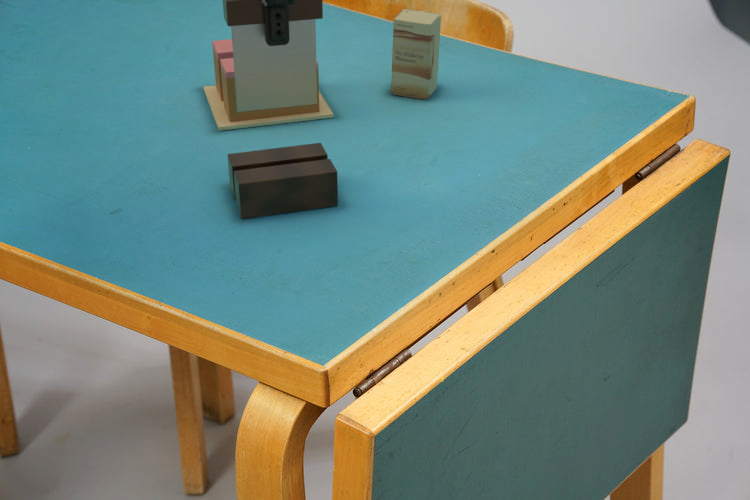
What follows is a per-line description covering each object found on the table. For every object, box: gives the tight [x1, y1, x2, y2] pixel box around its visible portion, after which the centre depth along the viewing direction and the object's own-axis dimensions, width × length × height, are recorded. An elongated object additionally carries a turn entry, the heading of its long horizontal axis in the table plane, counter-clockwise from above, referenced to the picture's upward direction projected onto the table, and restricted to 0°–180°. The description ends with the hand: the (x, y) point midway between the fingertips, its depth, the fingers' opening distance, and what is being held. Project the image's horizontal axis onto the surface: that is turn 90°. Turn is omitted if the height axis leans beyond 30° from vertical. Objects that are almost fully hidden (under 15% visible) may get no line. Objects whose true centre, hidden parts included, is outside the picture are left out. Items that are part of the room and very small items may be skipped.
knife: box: [222, 0, 324, 112], centre depth 94 cm, size 9×2×11 cm, turn 106°
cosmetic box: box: [390, 8, 442, 100], centre depth 124 cm, size 5×4×10 cm
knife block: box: [227, 142, 339, 220], centre depth 101 cm, size 10×7×4 cm
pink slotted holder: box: [203, 38, 335, 132], centre depth 121 cm, size 14×13×7 cm
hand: (274, 38), depth 93 cm, fingers closed on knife, 2 cm apart
